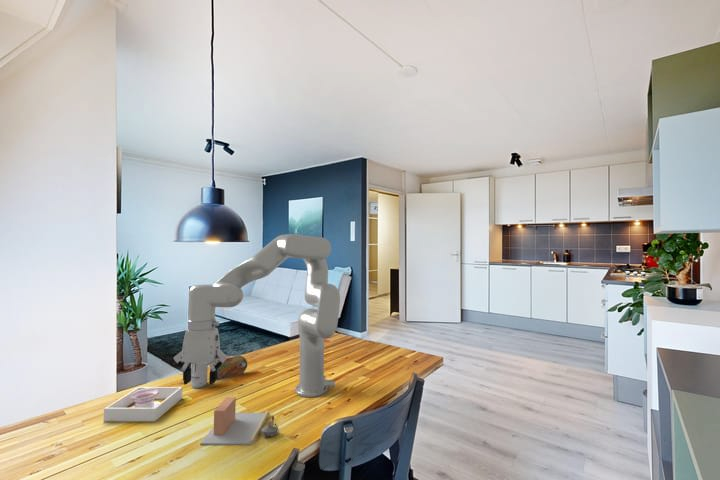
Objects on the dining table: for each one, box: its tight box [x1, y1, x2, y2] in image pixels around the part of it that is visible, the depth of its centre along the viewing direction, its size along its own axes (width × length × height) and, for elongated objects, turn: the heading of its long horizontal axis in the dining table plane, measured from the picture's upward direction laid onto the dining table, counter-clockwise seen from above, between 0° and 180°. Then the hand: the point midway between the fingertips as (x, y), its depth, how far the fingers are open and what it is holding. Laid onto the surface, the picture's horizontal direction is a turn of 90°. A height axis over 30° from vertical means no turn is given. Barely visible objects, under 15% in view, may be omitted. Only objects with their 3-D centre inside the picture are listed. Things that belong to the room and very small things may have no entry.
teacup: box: [129, 388, 162, 408], centre depth 109 cm, size 12×12×6 cm
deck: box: [213, 396, 237, 435], centre depth 99 cm, size 3×9×7 cm, turn 1°
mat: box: [200, 410, 270, 446], centre depth 99 cm, size 15×17×1 cm
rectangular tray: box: [103, 386, 183, 422], centre depth 110 cm, size 16×16×4 cm
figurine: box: [260, 415, 280, 439], centre depth 96 cm, size 5×4×6 cm
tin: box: [209, 354, 248, 380], centre depth 140 cm, size 15×3×8 cm, turn 122°
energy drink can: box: [190, 363, 209, 389], centre depth 130 cm, size 6×6×15 cm
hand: (200, 382), depth 99 cm, fingers open, 7 cm apart
